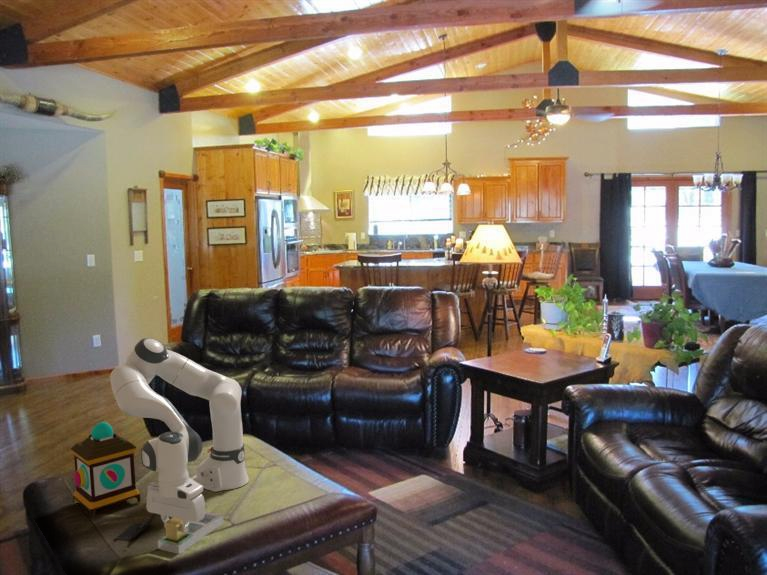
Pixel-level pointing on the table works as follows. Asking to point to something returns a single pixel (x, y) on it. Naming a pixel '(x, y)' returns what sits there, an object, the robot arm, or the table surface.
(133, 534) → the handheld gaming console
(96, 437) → the decorative lantern
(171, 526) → the tan rectangular block
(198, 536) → the white compartment tray
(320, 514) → the table surface
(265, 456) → the table surface
